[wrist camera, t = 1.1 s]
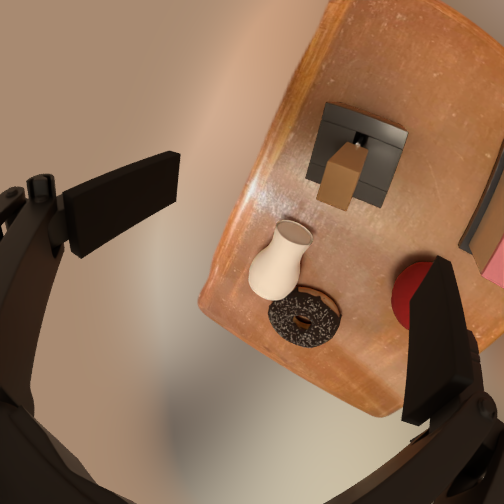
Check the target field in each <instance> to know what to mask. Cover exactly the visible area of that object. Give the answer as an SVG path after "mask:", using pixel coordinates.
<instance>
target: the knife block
mask: <svg viewBox="0 0 504 504" xmlns="http://www.w3.org/2000/svg"><path fill="white" fill-rule="evenodd" d="M408 133H409V132H408V131H407V130H406V129H405V128H404V127H403V126H402V125H400V124H398V123H395V122H393V121H390V120H388V119H385V118H383V117H380V116H377V115H375V114H372V113H369V112H367V111H364V110H361V109H358V108H355V107H352V106H349V105H346V104H343V103H340V102H326V104H325V108H324V112H323V115H322V120H321V123H320V127H319V130H318V134H317V138H316V141H315V145H314V149H313V152H312V156H311V160H310V163H309V167H308V170H307V174H306V177H305V178H306V179H308V180H311V181H313V182H316V183H319V184H321V181H322V178H323V175H324V172H325V168H326V165H327V162H328V160H329V159H330V158H331V157H332V156H333V155H334V154H335V153H336V152H337V151H338V150H339V149H340V148H341V147H342V146H343V145H344V144H345V143H346V142H349V143H352V144H355V145H356V142H357V141H358V140H359V138H360V137H361V136H362V134H365V135H366V138H365V142H364V145H363V148H365V149H368V153H367V156H366V159H365V162H364V165H363V168H362V171H361V174H360V177H359V180H358V182H357V185H356V188H355V191H354V193H353V196H352V197H355V198H357V199H359V200H362V201H364V202H367V203H369V204H371V205H374V206H376V207H378V208H381V207H382V204H383V202H384V199H385V197H386V194H387V192H388V189H389V186H390V184H391V181H392V179H393V176H394V173H395V171H396V168H397V165H398V162H399V159H400V157H401V154H402V151H403V148H404V145H405V142H406V139H407V136H408Z"/></svg>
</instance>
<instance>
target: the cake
mask: <svg viewBox="0 0 504 504" xmlns="http://www.w3.org/2000/svg"><path fill="white" fill-rule="evenodd" d="M458 246H459V248H460V249H462V250H464V251H466V252H468V253H470V254H471V255H473V256H474V259H475V261H476V264H477V266H478V268H479V271H480V273H481V276H482V277H484V278H486V279H488V280H490V281H491V282H493V283H495V284H497V285H499V286H500V287H502V288H504V141H503V144H502V147H501V149H500V152H499V155H498V158H497V161H496V163H495V166H494V169H493V171H492V174H491V176H490V179H489V181H488V183H487V186H486V188H485V191H484V193H483V195H482V197H481V200H480V202H479V204H478V206H477V208H476V210H475V213H474V215H473V217H472V219H471V221H470V223H469V225H468V227H467V229H466V231H465V233H464V235H463V236H462V238H461V240H460V242H459V244H458Z"/></svg>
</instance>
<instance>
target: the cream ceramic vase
mask: <svg viewBox="0 0 504 504" xmlns="http://www.w3.org/2000/svg"><path fill="white" fill-rule="evenodd" d="M312 242H313V236H312V234H311V233H310V231H309V230H308V229H306V228H305V227H304V226H302V225H301V224H299V223H297V222H294V221H290V220H281V221H279V222H278V223H277V225H276V228H275V231H274V235H273V239H272V241H271V242H270V244H269V245H268V246H267V247H266V248H264V249H263V250H262V251H260V252H259V253H258V254H257V256H256V257H255V258H254V260H253V261H252V264H251V266H250V269H249V278H248V281H249V285H250V287H251V288H252V290H253V291H254V292H255V293H256V294H258V295H259V296H260V297H263V298H265V299H268V300H281V299H283V298H285V297H286V296H287V295H288V294H289V293H290V292H291V291H292V290H293V289H294V287H295V286H296V284H297V282H298V279H299V274H300V260H301V258H302V255H303V253H304V252H305V251H306V250H307V249H308V247H309V246H310V245H311V243H312Z"/></svg>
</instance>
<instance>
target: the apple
mask: <svg viewBox="0 0 504 504" xmlns="http://www.w3.org/2000/svg"><path fill="white" fill-rule="evenodd" d="M432 264H433V263H432V262H418V263H414V264H413V265H411V266H409V267H408V268H406V269H405V270H404V271H403V272H402V273H401V274H400V275H399V276H398V278H397V279H396V281H395V284H394V287H393V290H392V297H391V304H392V309H393V312H394V314H395V316H396V318H397V320H398V321H399V322H400V324H401V325H402V326H403V327H405V328H406V329H408V330H409V301H410V299H411V298H412V296H413V295H414V293H415V292H416V290H417V288H418V287H419V285H420V284H421V282H422V280H423V279H424V277H425V276H426V274H427V272H428V271H429V269H430V267H431V266H432Z"/></svg>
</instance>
